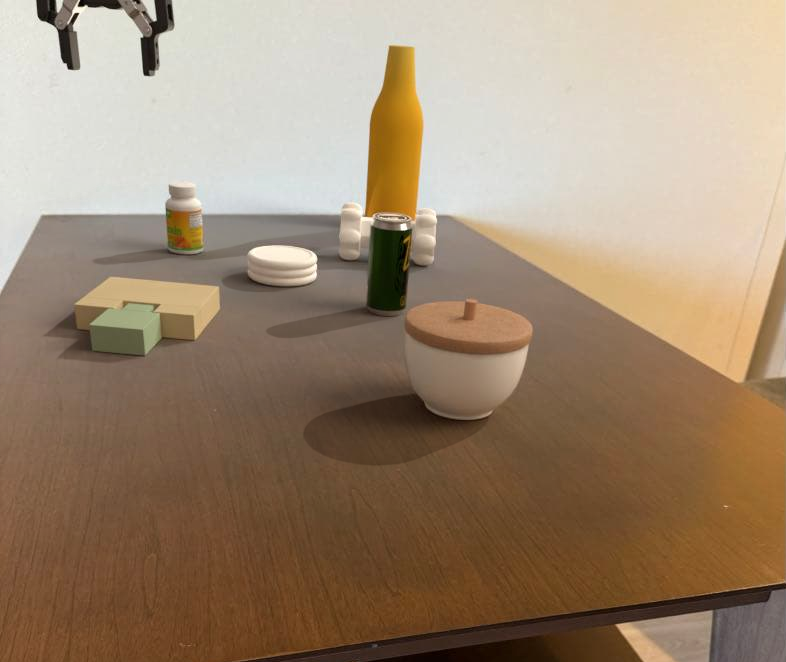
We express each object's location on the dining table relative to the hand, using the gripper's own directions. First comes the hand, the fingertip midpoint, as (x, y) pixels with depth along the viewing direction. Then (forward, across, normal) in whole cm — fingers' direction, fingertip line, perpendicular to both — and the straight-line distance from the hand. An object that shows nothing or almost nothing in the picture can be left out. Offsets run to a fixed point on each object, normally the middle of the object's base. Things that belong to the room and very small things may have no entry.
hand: (111, 72), depth 95 cm
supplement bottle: (+26, +1, -28) cm, 38 cm away
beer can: (+26, -32, -7) cm, 42 cm away
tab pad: (+26, -4, +13) cm, 29 cm away
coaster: (+26, -16, -18) cm, 36 cm away
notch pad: (+26, -4, +5) cm, 27 cm away
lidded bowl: (+26, -42, +23) cm, 55 cm away
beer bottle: (+26, -29, -54) cm, 67 cm away
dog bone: (+26, -30, -33) cm, 52 cm away
